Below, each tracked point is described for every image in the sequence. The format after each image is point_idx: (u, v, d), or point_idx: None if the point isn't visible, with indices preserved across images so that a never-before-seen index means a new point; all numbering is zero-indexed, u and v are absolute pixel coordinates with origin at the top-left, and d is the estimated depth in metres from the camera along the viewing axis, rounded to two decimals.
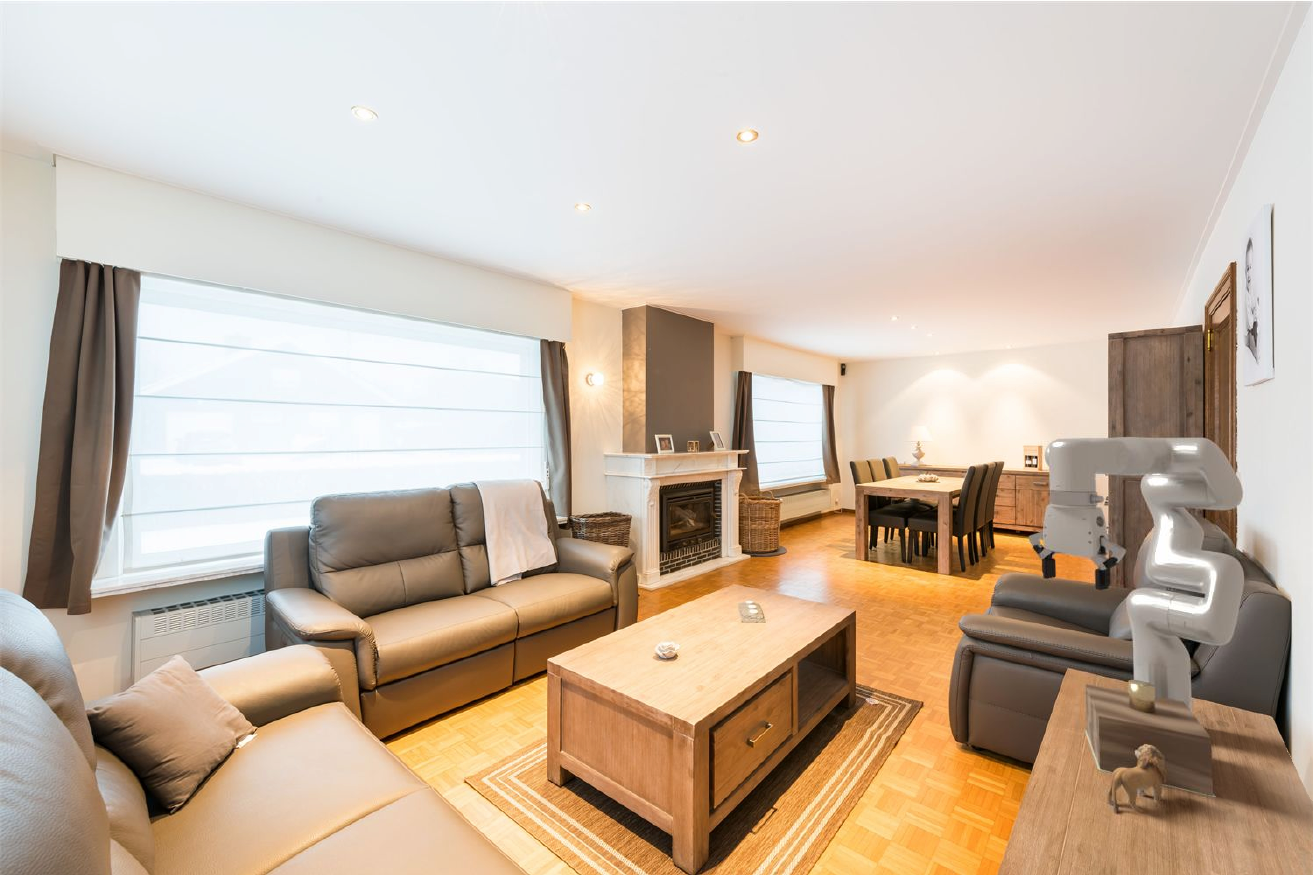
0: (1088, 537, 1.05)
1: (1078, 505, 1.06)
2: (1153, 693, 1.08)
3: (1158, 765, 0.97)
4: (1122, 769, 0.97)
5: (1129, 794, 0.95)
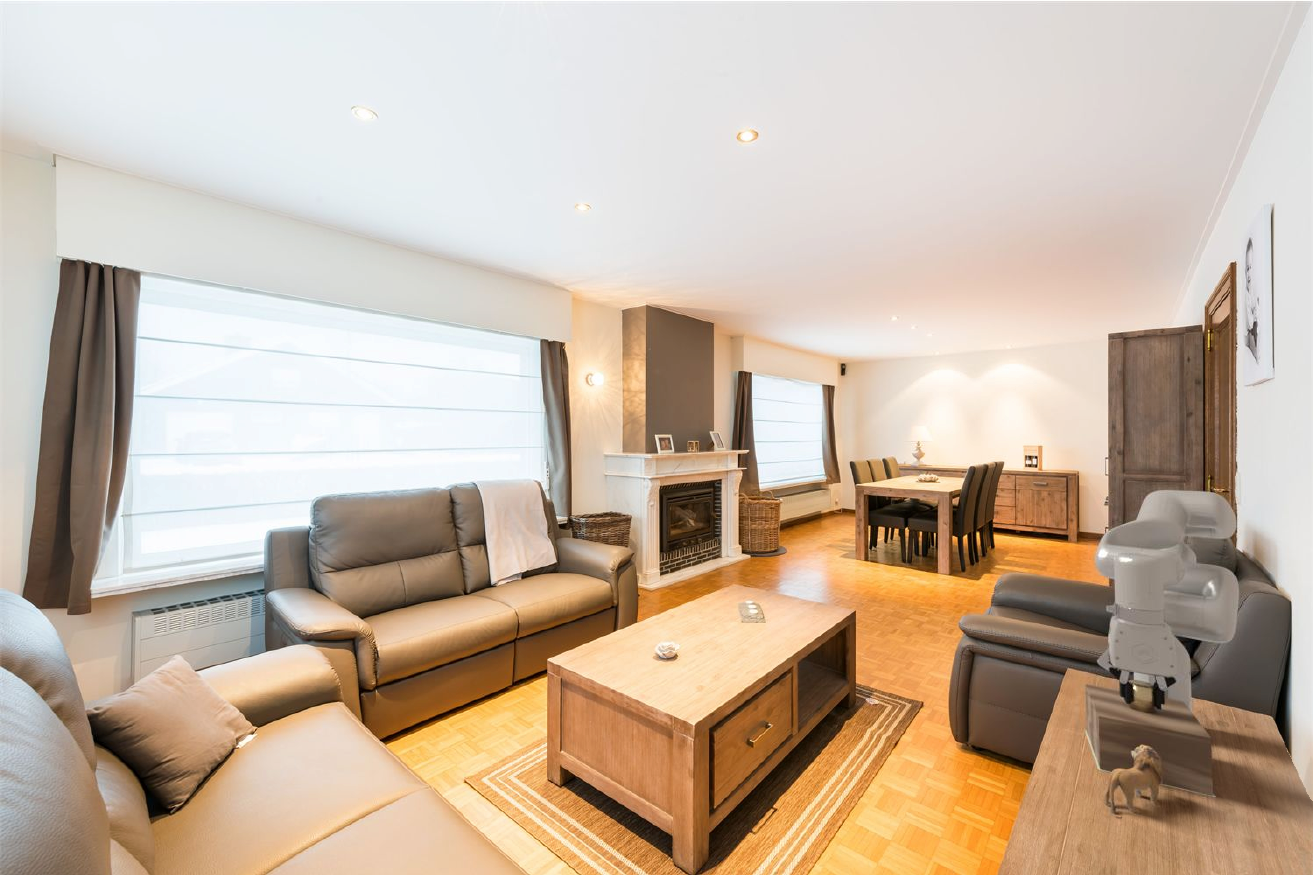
0: None
1: None
2: (1153, 693, 1.08)
3: (1154, 766, 0.97)
4: (1119, 770, 0.96)
5: (1126, 795, 0.95)
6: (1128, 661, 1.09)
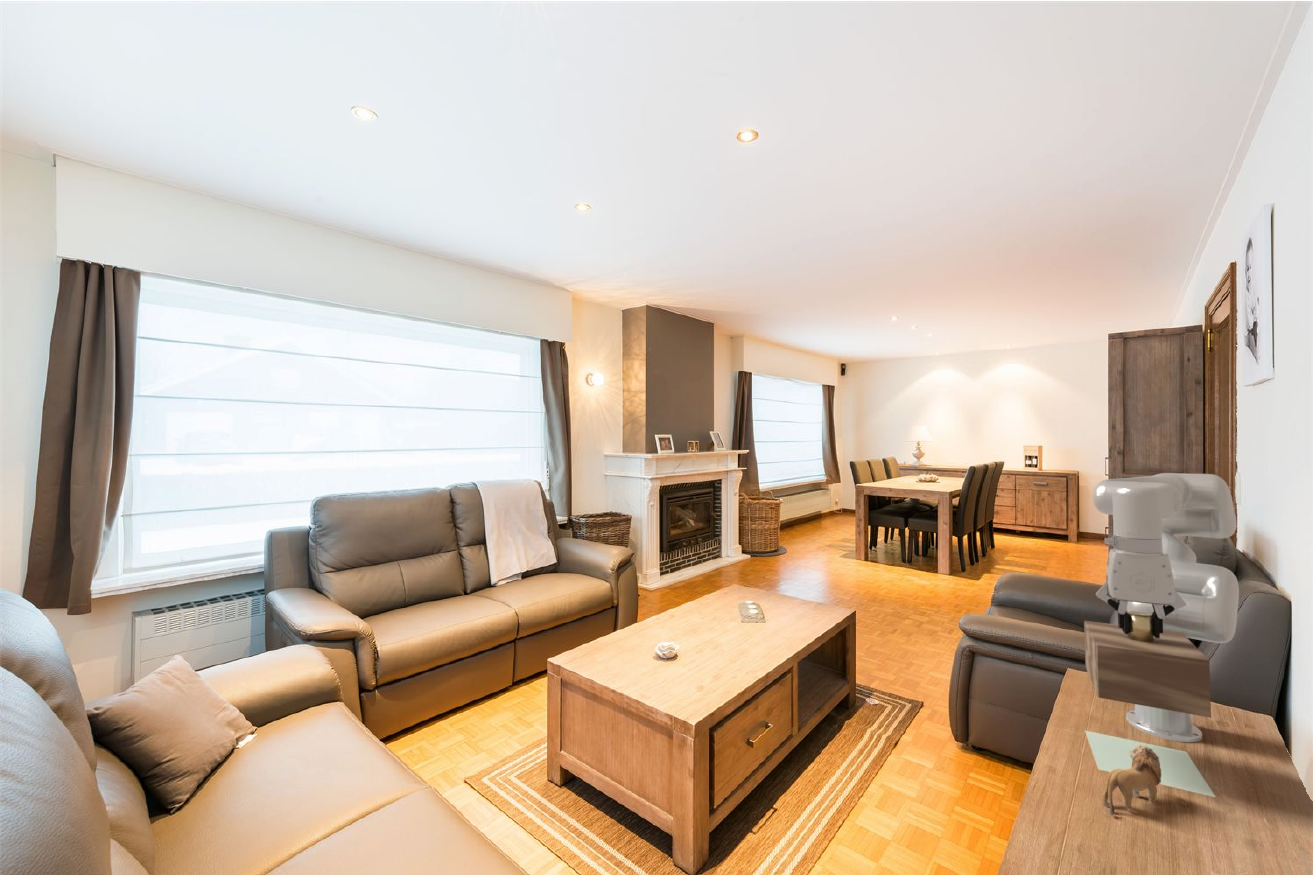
0: None
1: None
2: (1151, 622, 1.08)
3: (1153, 766, 0.97)
4: (1118, 771, 0.96)
5: (1125, 796, 0.95)
6: (1126, 591, 1.09)
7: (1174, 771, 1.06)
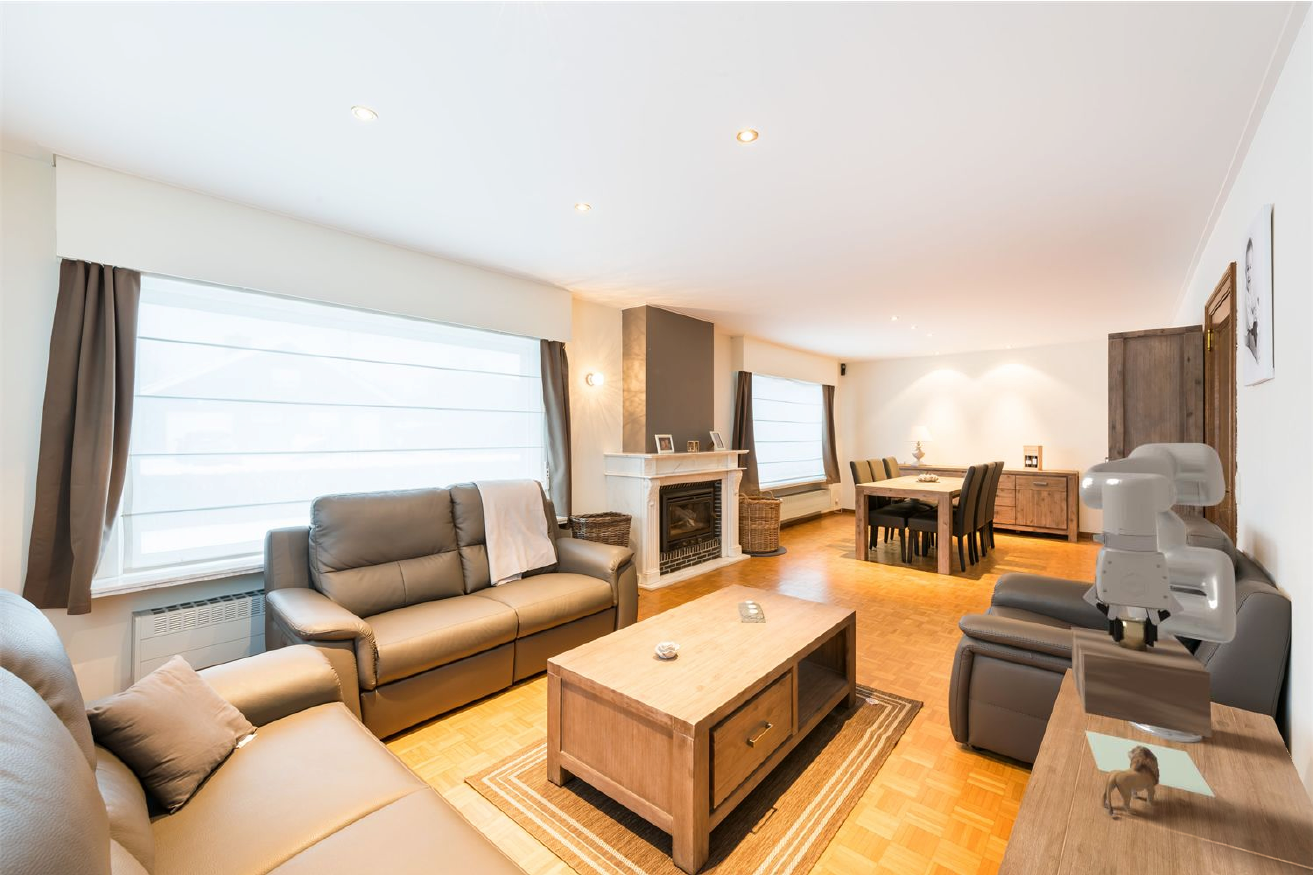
0: None
1: None
2: (1145, 629, 0.97)
3: (1151, 767, 0.97)
4: (1116, 771, 0.96)
5: (1123, 797, 0.95)
6: (1117, 594, 0.97)
7: (1174, 771, 1.06)
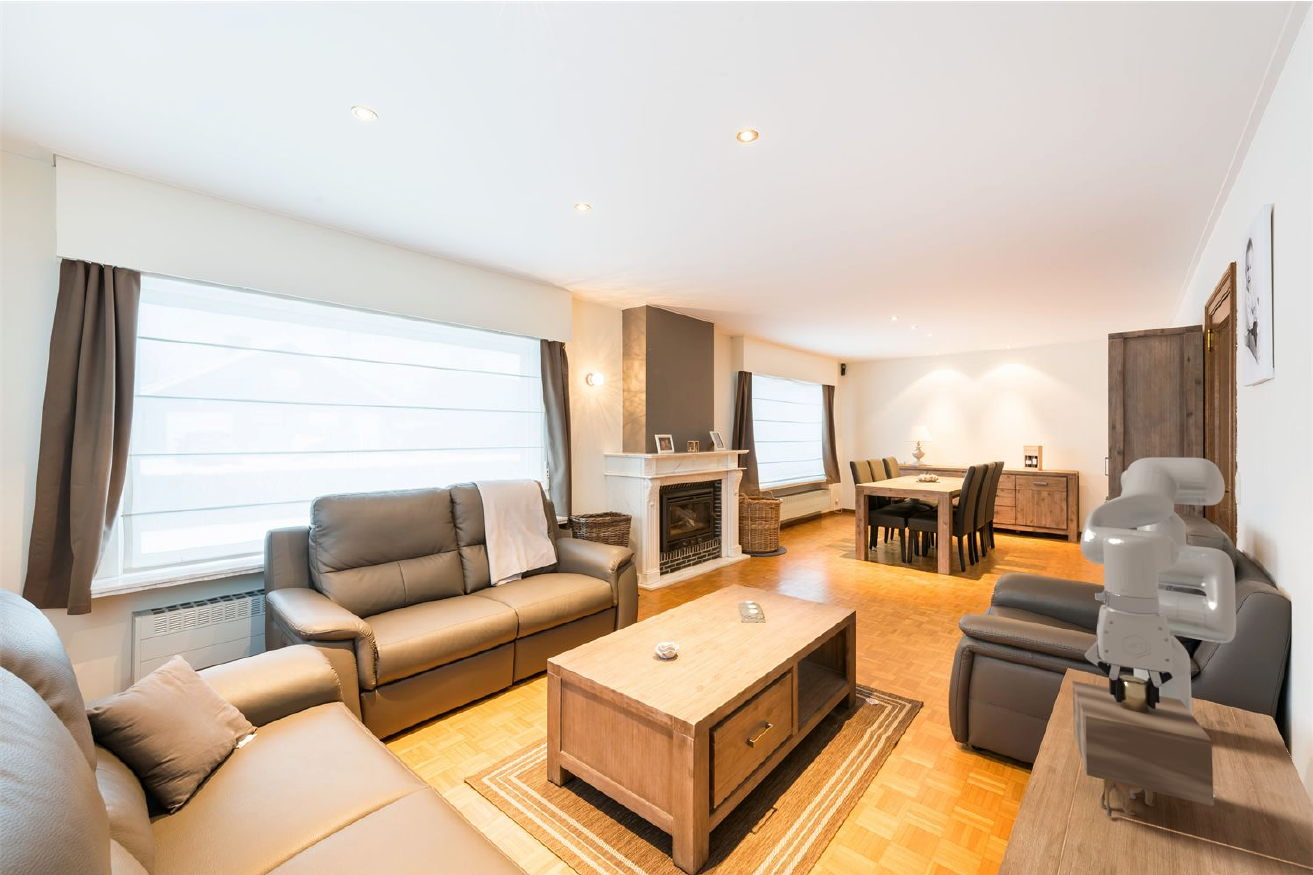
0: None
1: None
2: (1146, 690, 0.96)
3: None
4: None
5: (1122, 798, 0.94)
6: (1119, 654, 0.97)
7: None
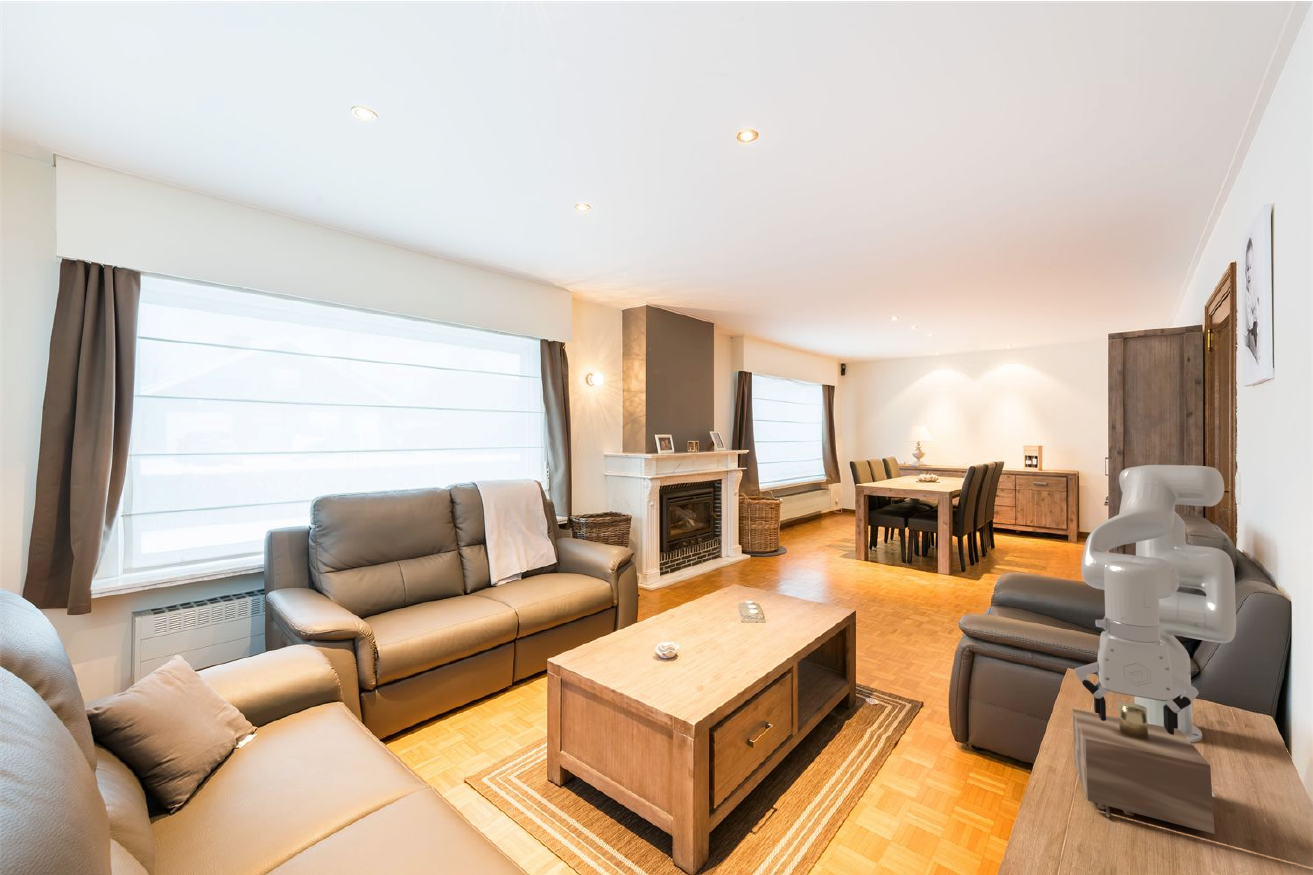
0: None
1: None
2: (1145, 716, 0.97)
3: None
4: None
5: None
6: (1119, 682, 0.97)
7: None
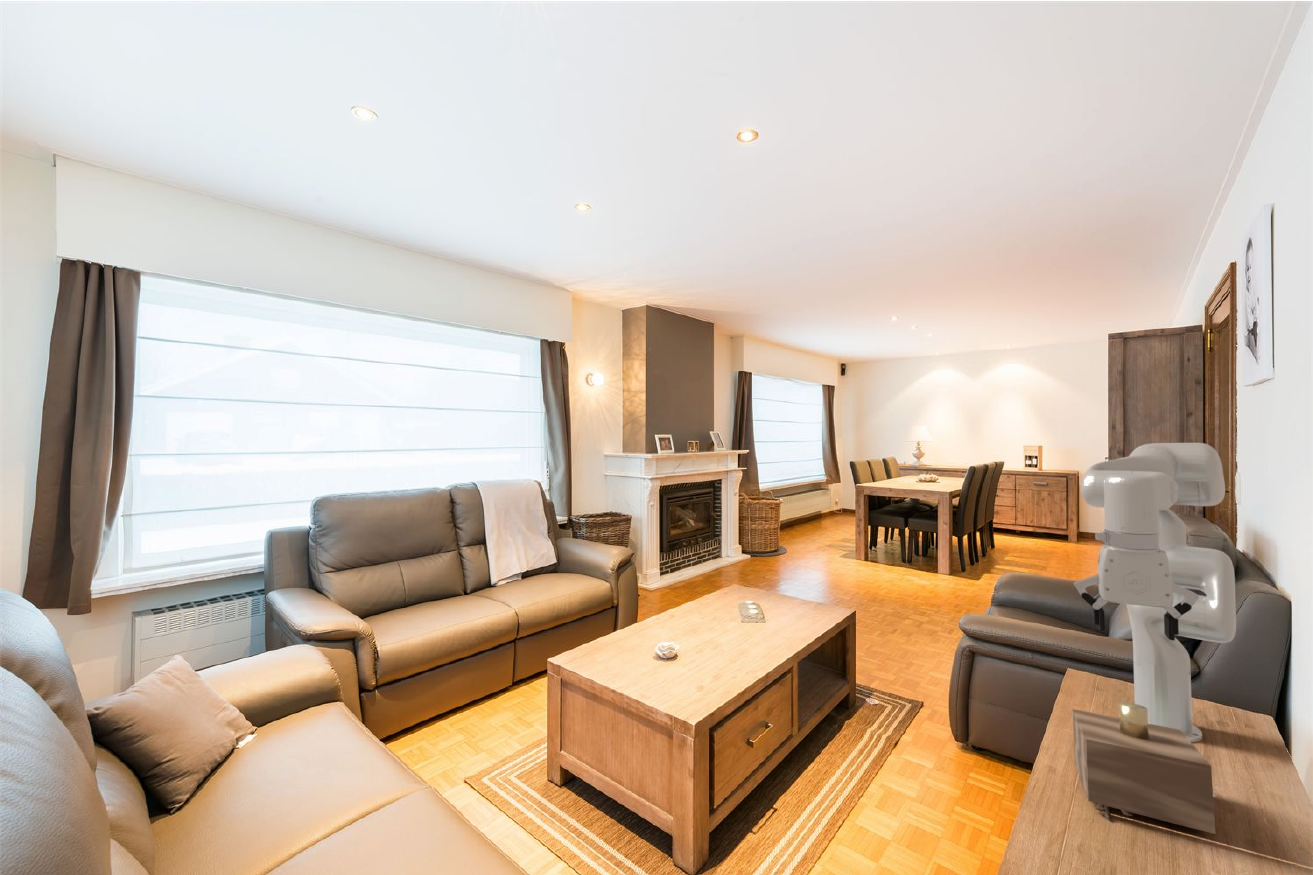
0: None
1: None
2: (1146, 716, 0.97)
3: None
4: None
5: None
6: (1119, 592, 0.98)
7: None
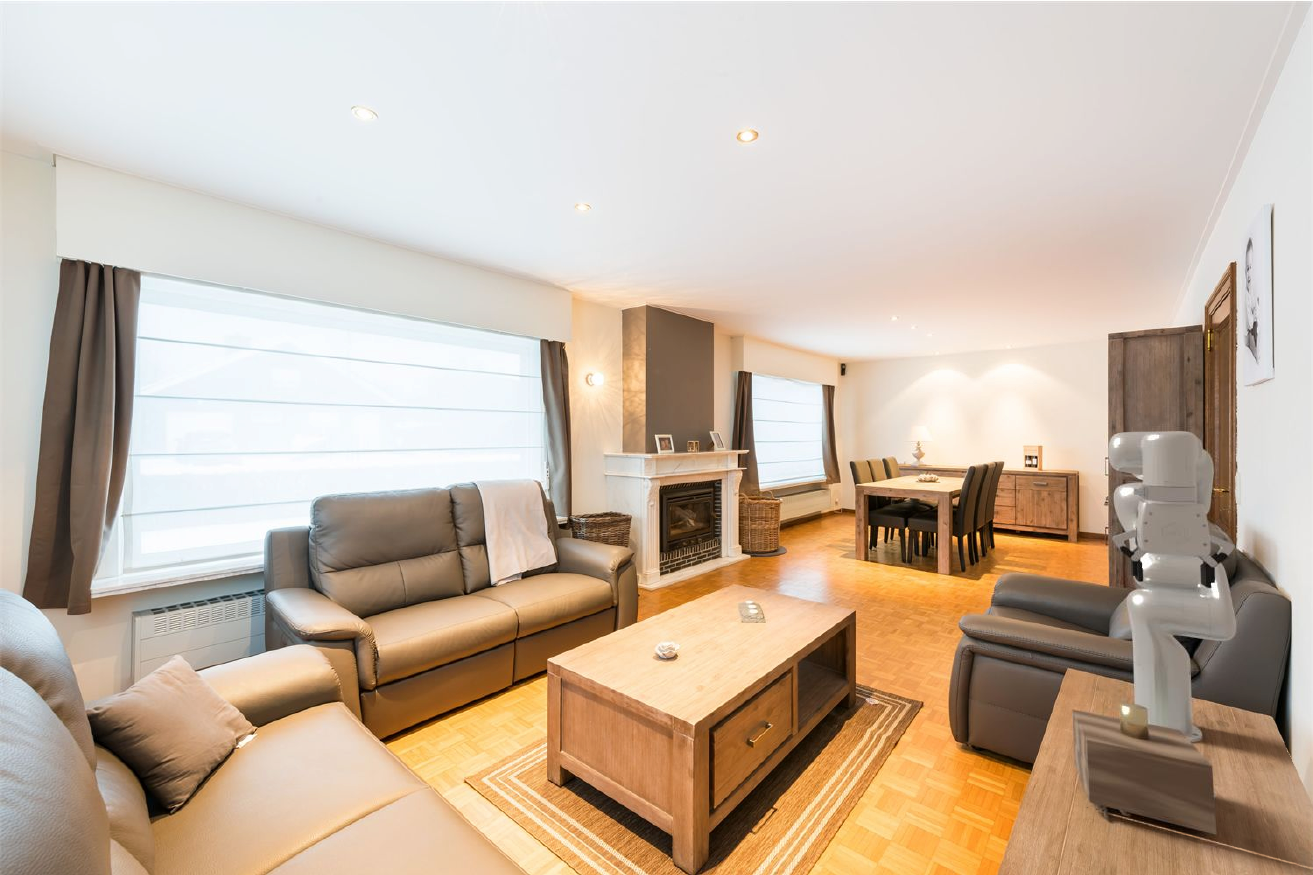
0: None
1: None
2: (1146, 716, 0.97)
3: None
4: None
5: None
6: (1158, 543, 1.03)
7: None
